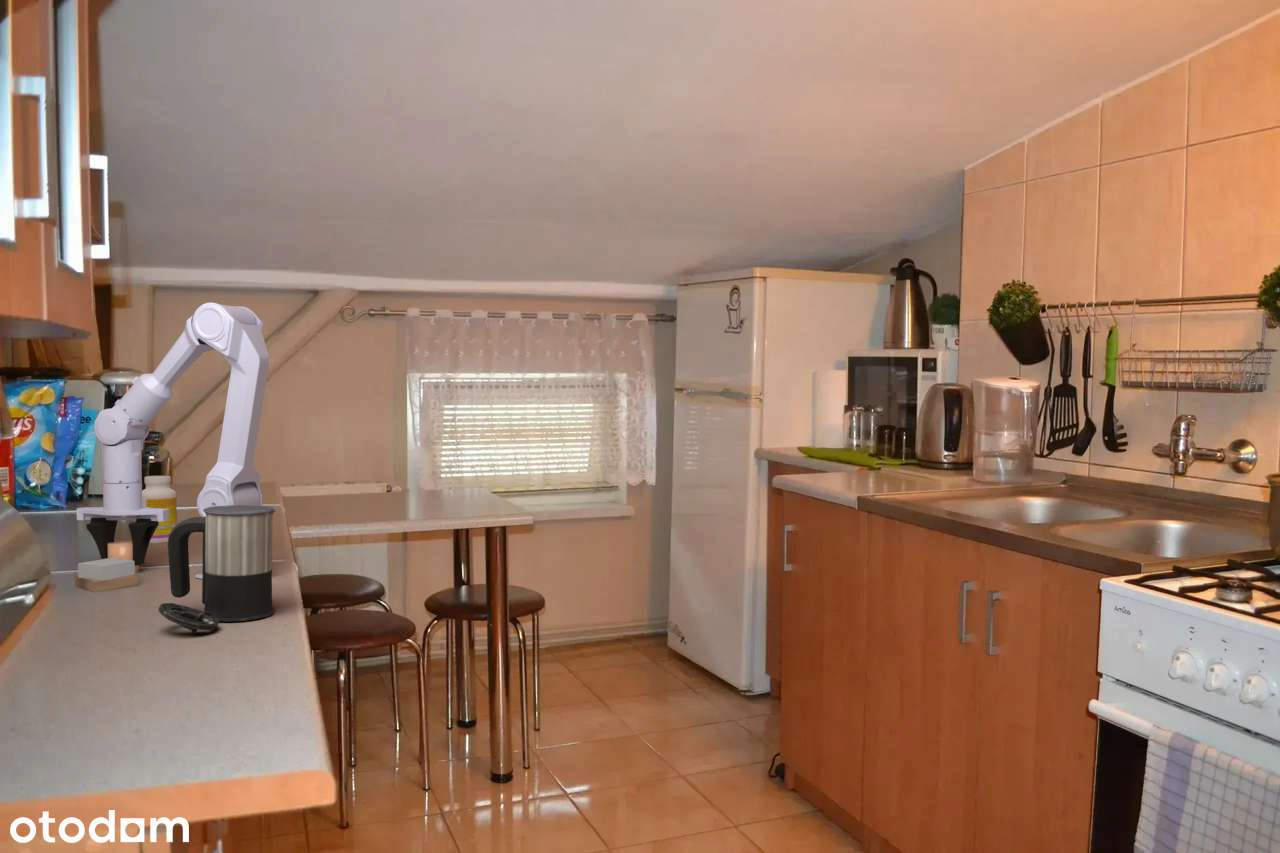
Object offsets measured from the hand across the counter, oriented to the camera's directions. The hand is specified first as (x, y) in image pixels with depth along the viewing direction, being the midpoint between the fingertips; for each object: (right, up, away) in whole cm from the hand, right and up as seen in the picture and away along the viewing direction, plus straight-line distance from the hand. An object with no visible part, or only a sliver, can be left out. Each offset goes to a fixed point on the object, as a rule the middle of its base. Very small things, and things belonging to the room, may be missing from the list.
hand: (123, 564), depth 169 cm
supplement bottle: (-9, 0, +32) cm, 34 cm away
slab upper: (+3, 0, -11) cm, 12 cm away
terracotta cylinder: (0, -1, 0) cm, 1 cm away
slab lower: (+3, -3, -11) cm, 11 cm away
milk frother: (+29, -4, -33) cm, 44 cm away
